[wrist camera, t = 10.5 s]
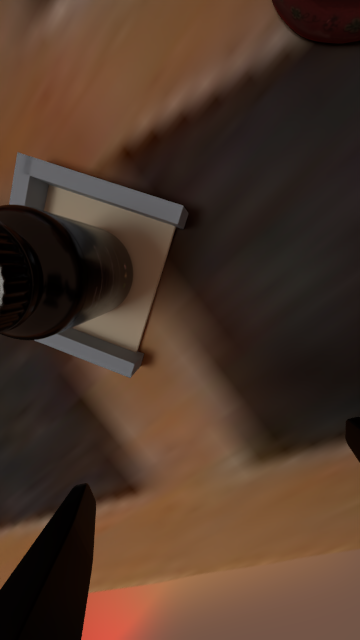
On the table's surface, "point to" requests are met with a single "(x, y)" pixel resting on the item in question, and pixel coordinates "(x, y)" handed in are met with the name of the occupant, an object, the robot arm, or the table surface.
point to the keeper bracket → (130, 228)
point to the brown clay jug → (322, 19)
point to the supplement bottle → (56, 272)
